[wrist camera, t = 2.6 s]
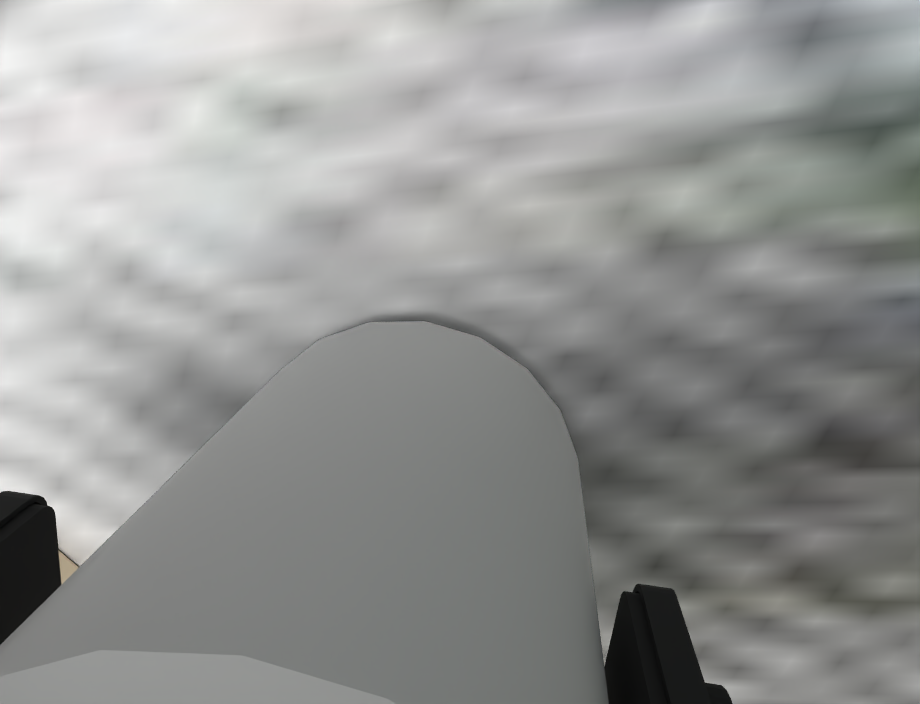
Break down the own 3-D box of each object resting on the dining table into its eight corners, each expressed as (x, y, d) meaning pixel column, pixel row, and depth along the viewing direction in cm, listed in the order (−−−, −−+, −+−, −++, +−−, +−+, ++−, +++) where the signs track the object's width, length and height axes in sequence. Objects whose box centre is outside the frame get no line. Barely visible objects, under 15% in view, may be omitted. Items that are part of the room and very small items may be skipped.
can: (633, 526, 16) (859, 1468, 5) (366, 636, 18) (83, 1507, 7) (476, 247, 15) (271, 698, 3) (200, 399, 16) (-556, 1031, 5)
